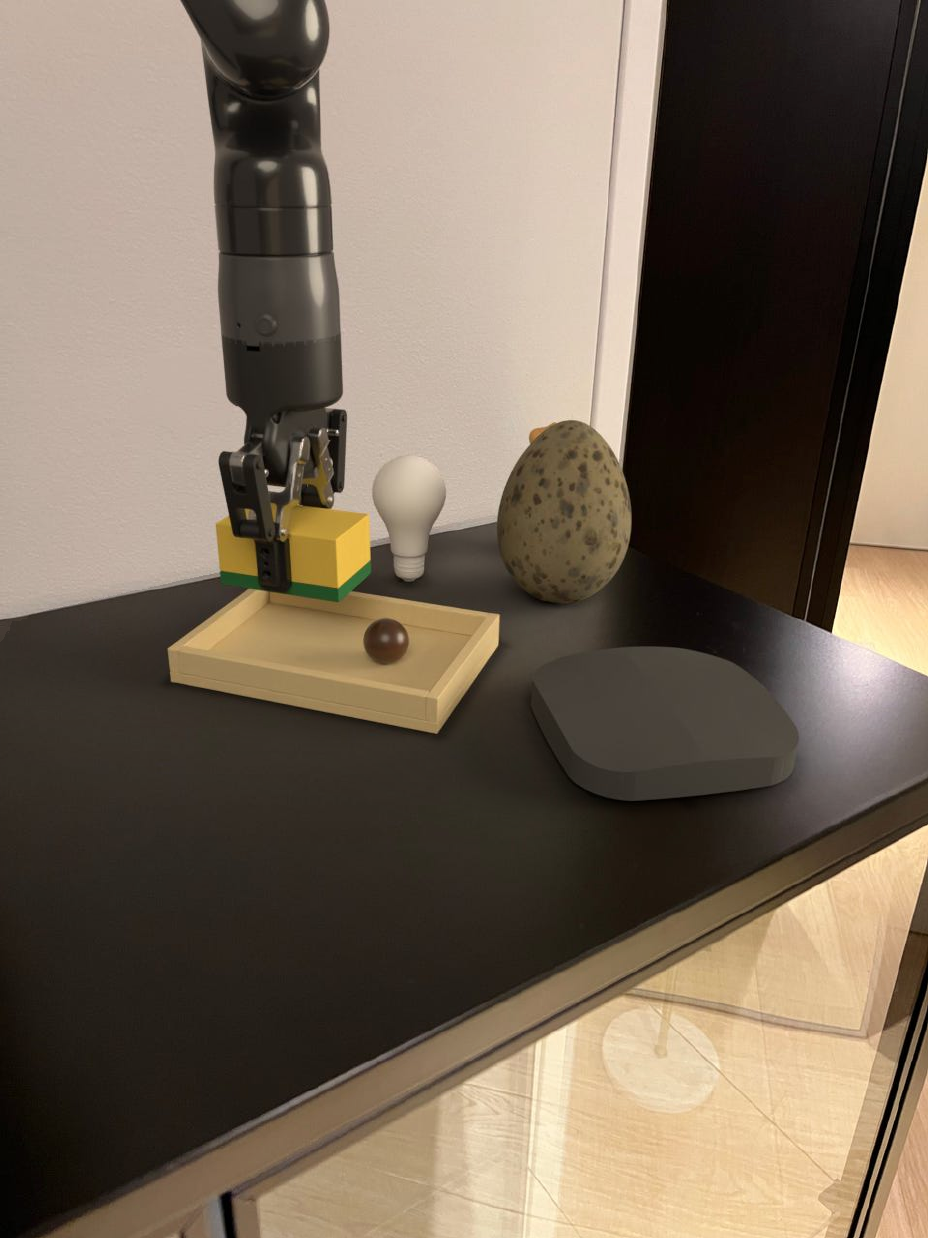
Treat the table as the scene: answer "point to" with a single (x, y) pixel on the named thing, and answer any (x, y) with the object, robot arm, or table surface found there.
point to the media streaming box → (661, 723)
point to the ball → (386, 640)
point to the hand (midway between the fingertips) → (296, 572)
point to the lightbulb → (409, 509)
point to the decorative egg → (565, 515)
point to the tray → (338, 655)
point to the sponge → (305, 553)
